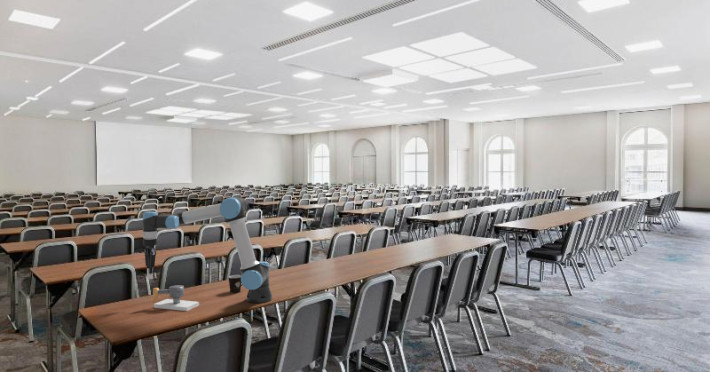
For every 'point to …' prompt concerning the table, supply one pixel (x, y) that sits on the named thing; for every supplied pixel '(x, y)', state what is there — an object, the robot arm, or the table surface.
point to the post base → (176, 304)
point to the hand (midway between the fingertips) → (150, 278)
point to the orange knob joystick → (169, 292)
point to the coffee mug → (235, 283)
